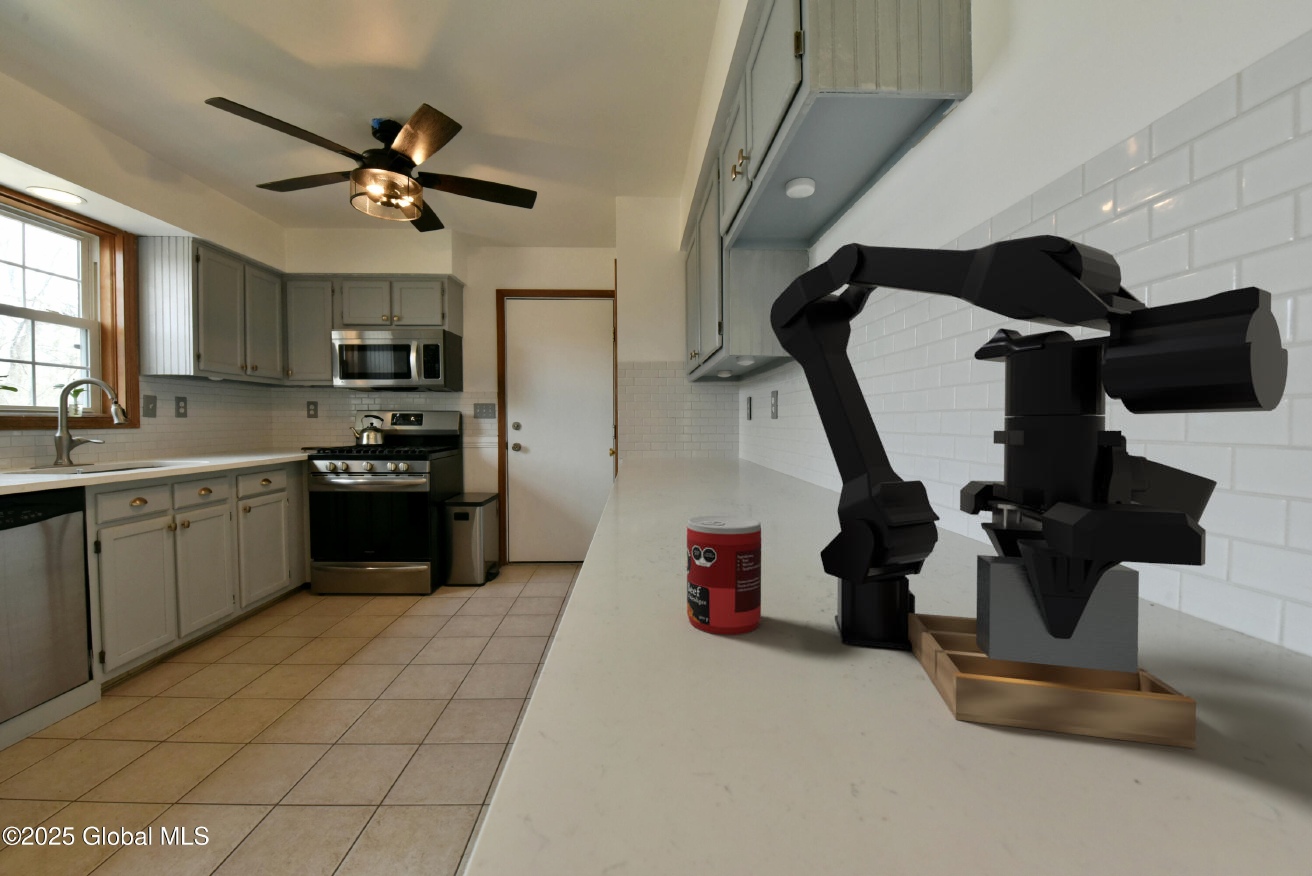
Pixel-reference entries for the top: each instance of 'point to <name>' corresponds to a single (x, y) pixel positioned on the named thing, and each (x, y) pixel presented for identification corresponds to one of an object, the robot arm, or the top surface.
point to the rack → (1047, 690)
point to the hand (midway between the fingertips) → (1049, 630)
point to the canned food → (724, 574)
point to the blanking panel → (1023, 636)
